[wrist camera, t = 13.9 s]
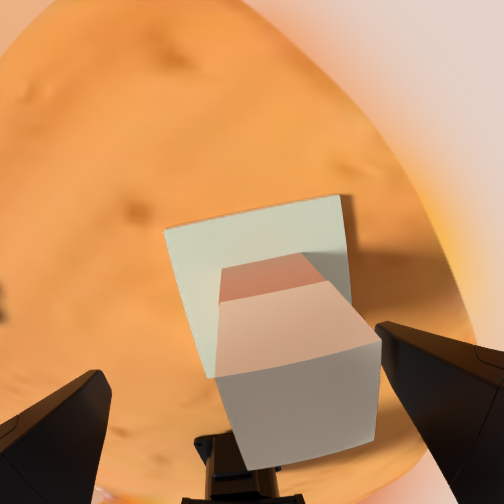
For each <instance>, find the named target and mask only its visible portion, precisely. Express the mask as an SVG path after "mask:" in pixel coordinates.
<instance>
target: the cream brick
mask: <svg viewBox="0 0 504 504" xmlns="http://www.w3.org/2000/svg"><path fill="white" fill-rule="evenodd" d="M381 348H382V340H381V338H380V337H379V336H378V335H377V334H376V333H375V332H374V330H373V329H372V328H371V327H370V326H369V325H368V324H367V323H366V321H365V320H364V319H363V318H362V317H361V316H360V315H359V314H358V312H357V311H356V310H355V309H354V308H353V307H352V306H351V305H350V303H349V302H348V301H347V300H346V299H345V298H344V297H343V296H342V295H341V294H340V292H339V291H338V290H337V289H336V288H335V287H334V286H333V285H332V284H331V283H330V281H329V280H328V281H324V282H319V283H315V284H310V285H305V286H301V287H296V288H291V289H286V290H281V291H276V292H272V293H266V294H261V295H256V296H251V297H246V298H241V299H235V300H230V301H225V302H220V309H219V322H218V335H217V349H216V364H215V380H216V383H217V386H218V390H219V393H220V396H221V399H222V402H223V405H224V407H225V410H226V413H227V416H228V419H229V422H230V425H231V428H232V430H233V433H234V436H235V439H236V441H237V444H238V447H239V449H240V452H241V455H242V457H243V460H244V463H245V465H246V468H247V470H248V471H249V470H257V469H263V468H269V467H275V466H281V465H286V464H291V463H296V462H301V461H305V460H309V459H314V458H318V457H322V456H325V455H329V454H333V453H337V452H340V451H344V450H347V449H350V448H353V447H357V446H360V445H363V444H366V443H369V442H372V441H374V434H375V426H376V417H377V408H378V397H379V385H380V370H381Z"/></svg>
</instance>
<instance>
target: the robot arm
mask: <svg viewBox="0 0 504 504" xmlns="http://www.w3.org/2000/svg"><path fill="white" fill-rule="evenodd" d="M375 333H376V334H377V335H378V336H379V337H380V338H381V340H382V348H381V365H382V367H383V369H384V371H385V373H386V376H387V378H388V380H389V382H390V384H391V386H392V388H393V390H394V392H395V393H396V395H397V397H398V398H399V400H400V402H401V403H402V405H403V406H404V408H405V410H406V411H407V413H408V415H409V416H410V418H411V420H412V421H413V423H414V425H415V427H416V428H417V430H418V432H419V433H420V435H421V437H422V438H423V440H424V442H425V444H426V445H427V447H428V449H429V451H430V452H431V454H432V456H433V458H434V459H435V461H436V463H437V465H438V467H439V468H440V470H441V472H442V474H443V476H444V477H445V479H446V481H447V483H448V485H449V486H450V489H451V490H452V492H453V494H454V496H455V498H456V500H457V502H458V504H504V352H503V351H498V350H494V349H489V348H485V347H481V346H477V345H474V346H473V344H469V343H466V342H462V341H458V340H454V339H451V338H447V337H443V336H440V335H436V334H432V333H429V332H425V331H421V330H418V329H414V328H411V327H407V326H404V325H400V324H397V323H393V322H390V321H385V322H381V323H378V324H376V326H375ZM111 398H112V390H111V388H110V386H109V384H108V382H107V379H106V377H105V375H104V373H103V372H102V371H101V370H89V371H87V372H86V373H84V374H83V375H81V376H79V377H78V378H76V379H75V380H73V381H71V382H70V383H68V384H67V385H65V386H63V387H62V388H60V389H59V390H57V391H55V392H54V393H52V394H51V395H49V396H47V397H46V398H44V399H42V400H41V401H39V402H38V403H36V404H34V405H33V406H31V407H29V408H28V409H26V410H24V411H23V412H21V413H20V414H19V415H16V416H15V417H13V418H11V419H10V420H8V421H6V422H4V423H3V424H1V425H0V504H91V500H92V495H93V490H94V485H95V480H96V475H97V470H98V466H99V461H100V457H101V452H102V448H103V444H104V440H105V435H106V431H107V425H108V418H109V411H110V404H111ZM194 446H195V448H196V450H197V451H198V453H199V455H200V457H201V459H202V460H203V462H204V464H205V466H206V482H205V500H203V499H190V498H184V497H183V498H182V502H181V504H305V501H304V498H303V496H302V494H294V496H286V497H280V496H279V490H278V484H277V477H276V472H278V471H280V470H281V466H275V467H269V468H263V469H257V470H249V471H248V470H247V468H246V465H245V463H244V460H243V457H242V455H241V452H240V449H239V447H238V444H237V441H236V439H235V436H234V433H233V434H225V435H217V436H208V437H198V438H195V439H194Z"/></svg>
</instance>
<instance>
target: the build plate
mask: <svg viewBox="0 0 504 504" xmlns="http://www.w3.org/2000/svg"><path fill="white" fill-rule="evenodd" d="M163 232H164V236H165V240H166V244H167V248H168V252H169V256H170V259H171V263H172V267H173V270H174V274H175V278H176V281H177V285H178V288H179V292H180V295H181V299H182V302H183V305H184V309H185V312H186V315H187V319H188V322H189V325H190V328H191V331H192V335H193V338H194V341H195V344H196V347H197V350H198V353H199V356H200V359H201V362H202V365H203V368H204V370H205V373H206V376H207V379H208V378H214V377H215V364H216V349H217V335H218V322H219V305H218V302H219V291H220V281H221V271H222V268H227V267H232V266H237V265H241V264H246V263H251V262H256V261H261V260H266V259H270V258H275V257H280V256H285V255H289V254H294V253H299V252H301V253H302V254H303V256H304V257H305V258H306V259H307V260H308V261H309V262H310V263H311V264H312V265H313V267H314V268H315V269H316V270H317V271H318V272H319V273H320V274H321V275H322V277H323V278H324V279H325V280H326V281H328V280H329V281H330V283H331V284H332V285H333V286H334V287H335V288H336V289H337V290H338V291H339V292H340V294H341V295H342V296H343V297H344V298H345V299H346V300H347V301H348V302H349V303H350V305H351V306H352V297H351V285H350V274H349V264H348V255H347V246H346V237H345V229H344V222H343V215H342V208H341V201H340V195H337V194H331V195H325V196H319V197H314V198H308V199H303V200H298V201H292V202H287V203H282V204H276V205H271V206H266V207H261V208H256V209H251V210H246V211H241V212H237V213H232V214H227V215H222V216H218V217H213V218H208V219H204V220H199V221H195V222H190V223H186V224H182V225H177V226H173V227H169V228H166V229H165V230H164V231H163Z"/></svg>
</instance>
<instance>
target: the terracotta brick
mask: <svg viewBox="0 0 504 504" xmlns="http://www.w3.org/2000/svg"><path fill="white" fill-rule="evenodd" d="M324 281H326V280H325V279H324V278H323V277H322V275H321V274H320V273H319V272H318V271H317V270H316V269H315V268H314V267H313V265H312V264H311V263H310V262H309V261H308V260H307V259H306V258H305V257H304V256H303V254H302V253H301V252H299V253H294V254H289V255H285V256H280V257H275V258H270V259H266V260H261V261H256V262H251V263H246V264H241V265H237V266H232V267H227V268H222V271H221V281H220V291H219V302H218V305H219V309H220V302H225V301H230V300H235V299H241V298H246V297H251V296H256V295H261V294H266V293H272V292H276V291H281V290H286V289H291V288H296V287H301V286H305V285H310V284H315V283H319V282H324Z"/></svg>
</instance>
